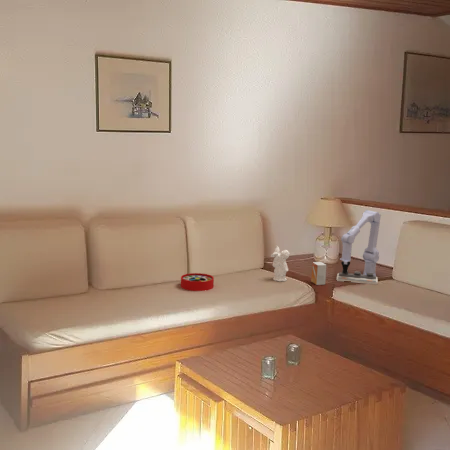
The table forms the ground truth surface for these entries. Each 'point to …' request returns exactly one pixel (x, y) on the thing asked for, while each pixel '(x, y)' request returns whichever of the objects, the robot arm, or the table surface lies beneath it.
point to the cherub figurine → (280, 264)
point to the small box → (318, 273)
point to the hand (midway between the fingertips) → (344, 272)
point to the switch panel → (357, 278)
